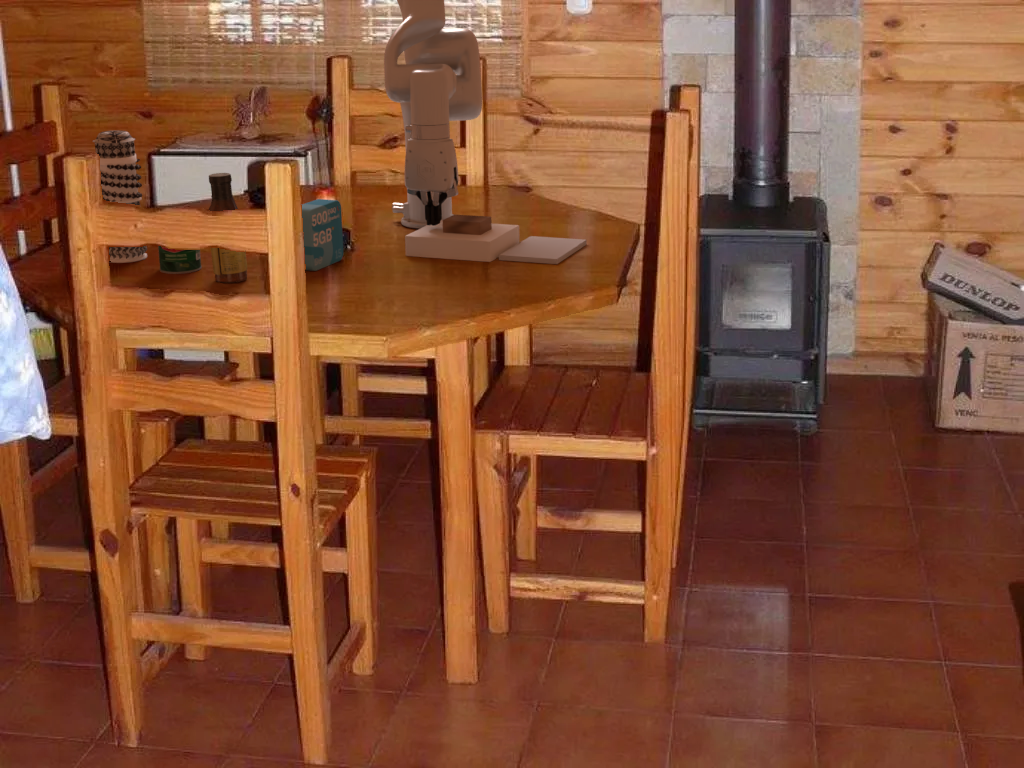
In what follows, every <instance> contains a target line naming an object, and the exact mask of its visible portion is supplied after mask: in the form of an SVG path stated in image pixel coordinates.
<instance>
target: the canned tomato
mask: <svg viewBox="0 0 1024 768" xmlns="http://www.w3.org/2000/svg"><path fill="white" fill-rule="evenodd" d="M157 248H158V249H157V250H158V262H159V271H160V273H163V274H168V275H182V274H183V275H184V274H189V273H195V272H198V271H200V270H201V269H202V259H201V249H200V250H175V249H168V248H165V247H161V246H158V245H157Z"/></svg>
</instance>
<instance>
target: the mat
mask: <svg viewBox="0 0 1024 768" xmlns="http://www.w3.org/2000/svg"><path fill="white" fill-rule="evenodd" d="M585 246H587V239H581V238H580V239H579V238H568V237H567V238H566V237H565V238H564V237H552V236H551V237H550V236H536V235H534V236H533V235H530V236H528V237H527V238H525V239H524V240H521V241H519V243H518V244H517V245H515V246H513V247H511V248H510V249H508V250H506V251H505V252H503V253H501V254H500V255H499V257H498V260H499V261H507V262H521V263H523V262H524V263H534V264H535V263H536V264H537V263H538V264H549V265H558V264H559V263H561V262H562V261H564V260H565V259H567V258H568V257H571V256H572V255H573V254H575V253H576V252H578V251H579V250H580V249H582V248H584V247H585Z"/></svg>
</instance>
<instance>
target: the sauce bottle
mask: <svg viewBox="0 0 1024 768" xmlns="http://www.w3.org/2000/svg"><path fill="white" fill-rule="evenodd" d="M232 181H233V180H232V174H231V173H229V172H216V173H211V174H209V175H208V182H209V184H210V191H211V201H210V202H211V203H210V206H209V207H208V210H210V211H223V210H235V209H238V210H239V208H238V206H237V203H236V200H235V199H234V196H233V189H232ZM210 252H211V263H212V271H213V274H214V280H215V282H217V283H222V284H233V283H234V284H235V283H240V282H243V281H245V280H247V278H248V262H247V261H248V260H247V255H246V254H247V252H246V251H245V252H236V251H230V250H225V249H220V248H211V247H210Z"/></svg>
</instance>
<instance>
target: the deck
mask: <svg viewBox="0 0 1024 768" xmlns="http://www.w3.org/2000/svg"><path fill="white" fill-rule="evenodd" d="M404 241H405V242H404V243H405V245H404V246H405V256H406V257H414V258H415V257H416V258H417V257H418V258H419V257H421V258H432V259H442V260H443V259H445V260H458V261H459V260H460V261H472V262H473V261H474V262H488V263H491V262H492V261H493V262H494V261H495V260H496V259H499V255H500V254H501V253H503V252H505V251H506V250H508V249H510V248H511V247H513V246H515V245H517V244H518V243H520V224H519V225H518V224H506V223H505V224H504V223H492V229H491V230H489V231H487V232H485V233H483V234H482V235H471V234H456V233H443V220H441V221H440V223H439V224H437V225H435V226H432V225H427V226H425V227H422V228H417V229H416V230H414V231H412V232H410V233H408V234H406V235H405V236H404Z"/></svg>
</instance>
